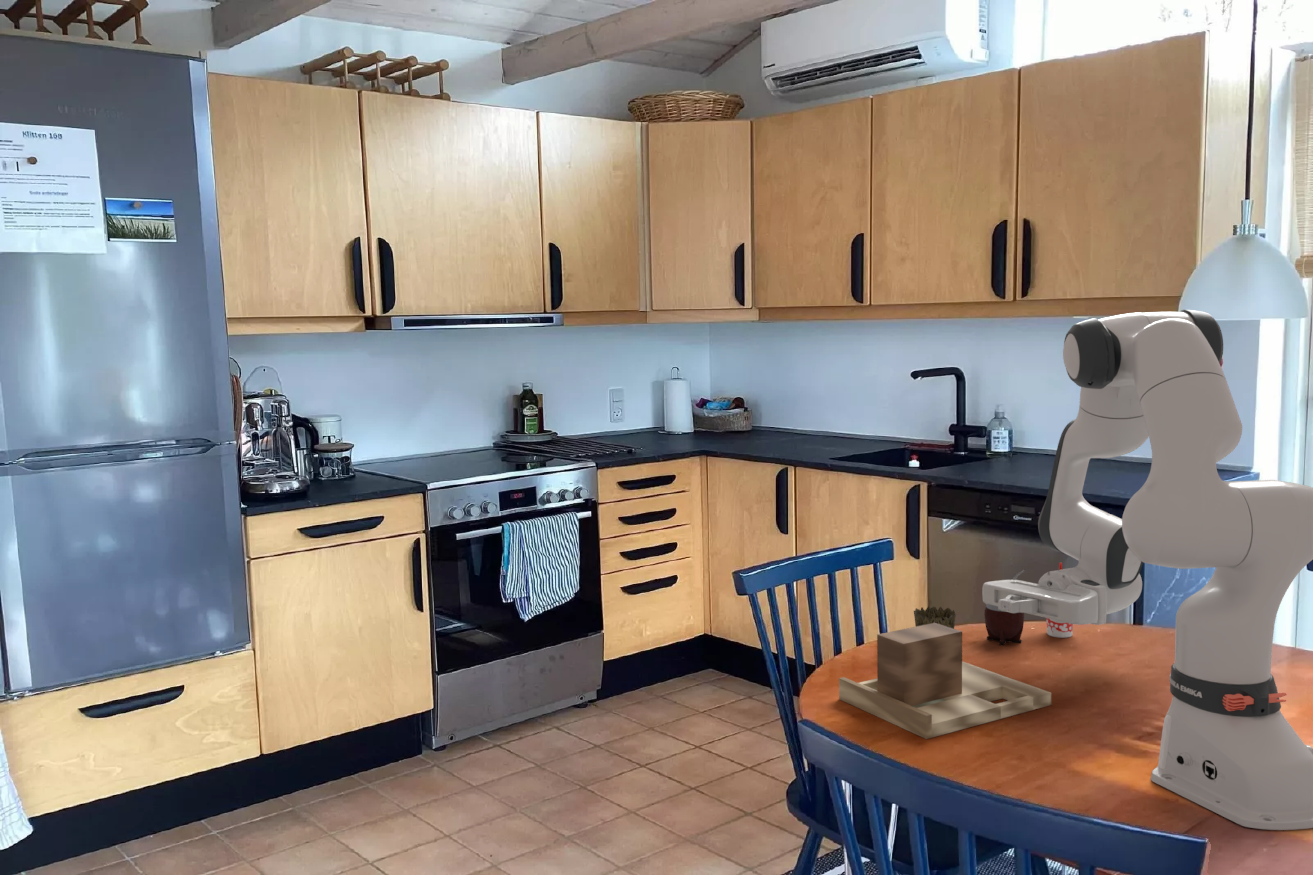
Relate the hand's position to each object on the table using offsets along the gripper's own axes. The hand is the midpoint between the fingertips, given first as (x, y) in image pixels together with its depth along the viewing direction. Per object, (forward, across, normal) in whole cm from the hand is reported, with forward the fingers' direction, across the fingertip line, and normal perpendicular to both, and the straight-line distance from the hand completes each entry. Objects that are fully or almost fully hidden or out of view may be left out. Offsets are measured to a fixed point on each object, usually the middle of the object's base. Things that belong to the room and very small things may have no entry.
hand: (1004, 606), depth 174 cm
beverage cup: (-32, -16, +13) cm, 38 cm away
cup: (-4, -20, +13) cm, 25 cm away
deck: (+13, -1, +14) cm, 19 cm away
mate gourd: (-20, -19, +13) cm, 31 cm away
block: (+18, -1, +12) cm, 21 cm away
